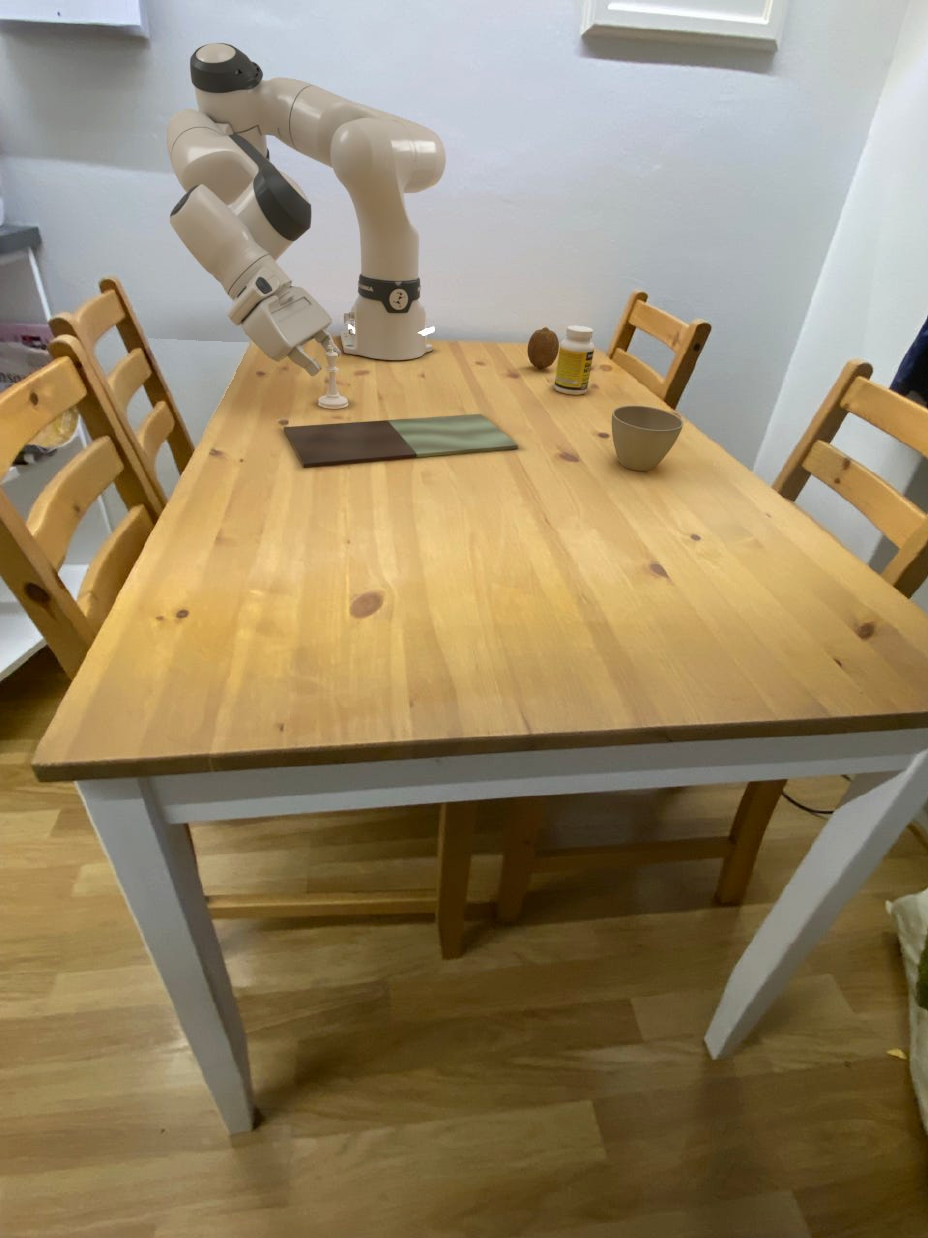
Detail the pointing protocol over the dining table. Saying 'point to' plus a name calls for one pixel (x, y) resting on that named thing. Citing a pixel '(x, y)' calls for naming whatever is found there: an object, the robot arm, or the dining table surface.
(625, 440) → the flower pot
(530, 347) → the fruit
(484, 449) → the mat
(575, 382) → the pill bottle
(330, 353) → the chess piece
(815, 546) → the dining table surface
